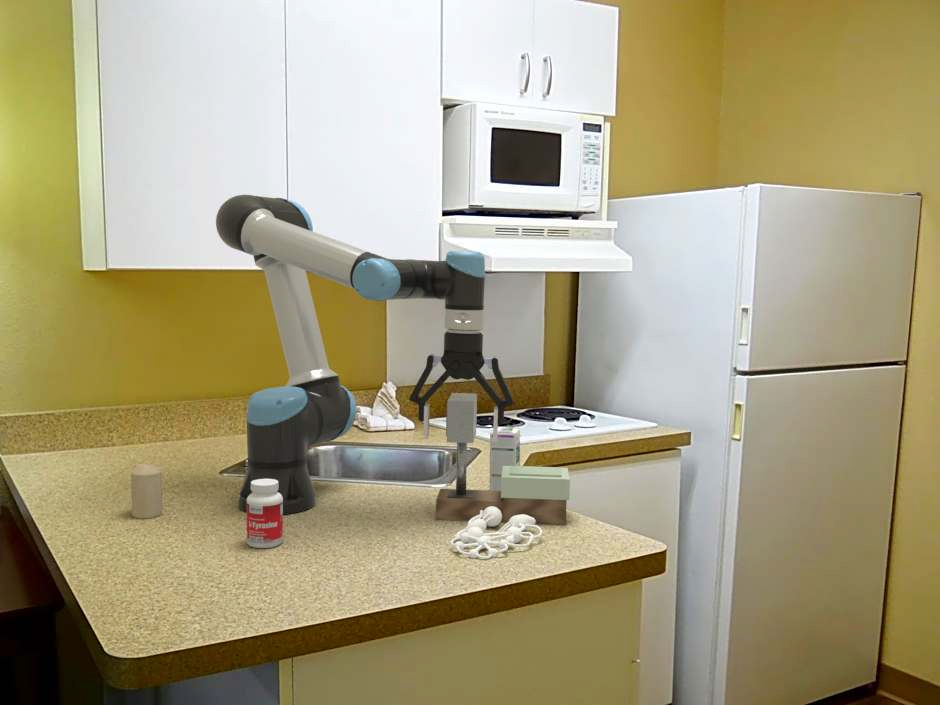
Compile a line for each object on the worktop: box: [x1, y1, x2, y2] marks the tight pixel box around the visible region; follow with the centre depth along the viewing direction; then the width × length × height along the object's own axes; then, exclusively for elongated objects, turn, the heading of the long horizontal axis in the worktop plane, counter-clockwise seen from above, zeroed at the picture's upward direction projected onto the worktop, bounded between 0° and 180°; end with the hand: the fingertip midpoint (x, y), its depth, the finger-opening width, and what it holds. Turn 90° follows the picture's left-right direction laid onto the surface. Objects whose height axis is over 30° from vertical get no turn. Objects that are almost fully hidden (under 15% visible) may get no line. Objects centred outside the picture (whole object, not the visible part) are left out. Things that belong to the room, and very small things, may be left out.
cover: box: [501, 465, 571, 501], centre depth 165 cm, size 13×9×4 cm
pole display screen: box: [445, 392, 478, 495], centre depth 165 cm, size 10×5×19 cm, turn 176°
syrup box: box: [489, 426, 521, 491], centre depth 180 cm, size 6×6×14 cm
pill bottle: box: [246, 479, 284, 549], centre depth 147 cm, size 6×6×11 cm
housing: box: [435, 488, 567, 525], centre depth 166 cm, size 25×8×5 cm, turn 86°
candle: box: [130, 462, 163, 520], centre depth 162 cm, size 6×6×10 cm
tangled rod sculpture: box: [449, 506, 543, 560], centre depth 150 cm, size 19×14×4 cm
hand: (460, 439), depth 165 cm, fingers open, 13 cm apart
